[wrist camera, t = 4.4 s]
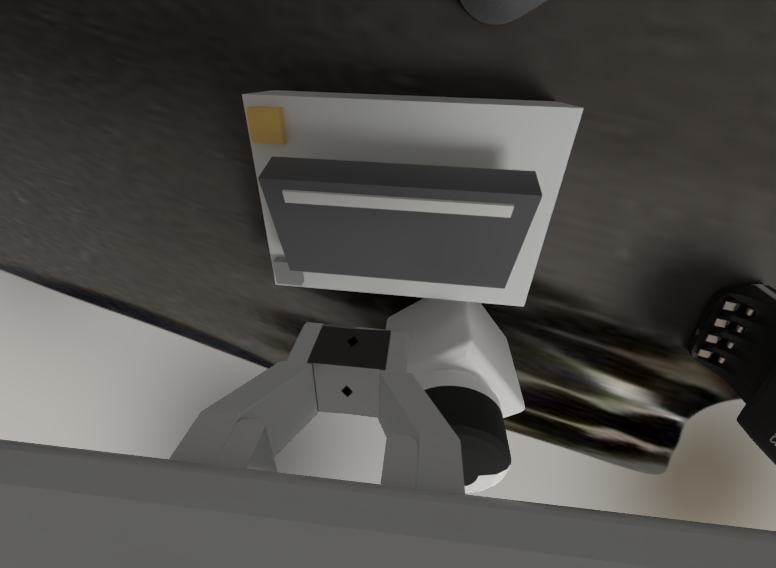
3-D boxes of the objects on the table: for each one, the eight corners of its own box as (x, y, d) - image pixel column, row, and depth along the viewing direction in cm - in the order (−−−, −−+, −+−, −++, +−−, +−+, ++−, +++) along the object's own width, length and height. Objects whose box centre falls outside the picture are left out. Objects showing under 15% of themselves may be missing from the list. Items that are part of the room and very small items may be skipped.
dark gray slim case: (535, 171, 15) (543, 197, 14) (501, 264, 19) (504, 290, 18) (271, 156, 16) (256, 179, 15) (299, 248, 20) (289, 272, 19)
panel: (556, 101, 19) (590, 109, 14) (511, 274, 24) (526, 314, 20) (274, 90, 20) (233, 95, 16) (296, 256, 26) (270, 291, 22)
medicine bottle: (385, 316, 28) (358, 456, 18) (461, 275, 25) (480, 413, 15) (434, 370, 30) (434, 518, 20) (507, 338, 28) (550, 492, 18)
